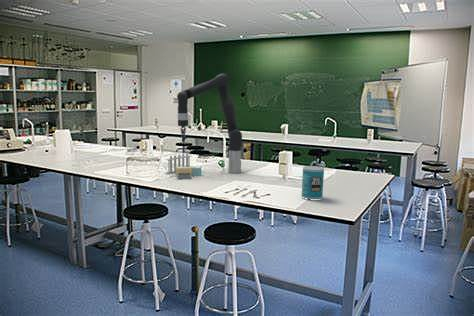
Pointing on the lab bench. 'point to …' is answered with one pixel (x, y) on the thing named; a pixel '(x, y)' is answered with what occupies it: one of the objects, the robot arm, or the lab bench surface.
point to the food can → (312, 182)
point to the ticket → (184, 170)
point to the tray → (184, 175)
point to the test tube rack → (178, 162)
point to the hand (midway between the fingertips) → (183, 141)
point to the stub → (196, 171)
